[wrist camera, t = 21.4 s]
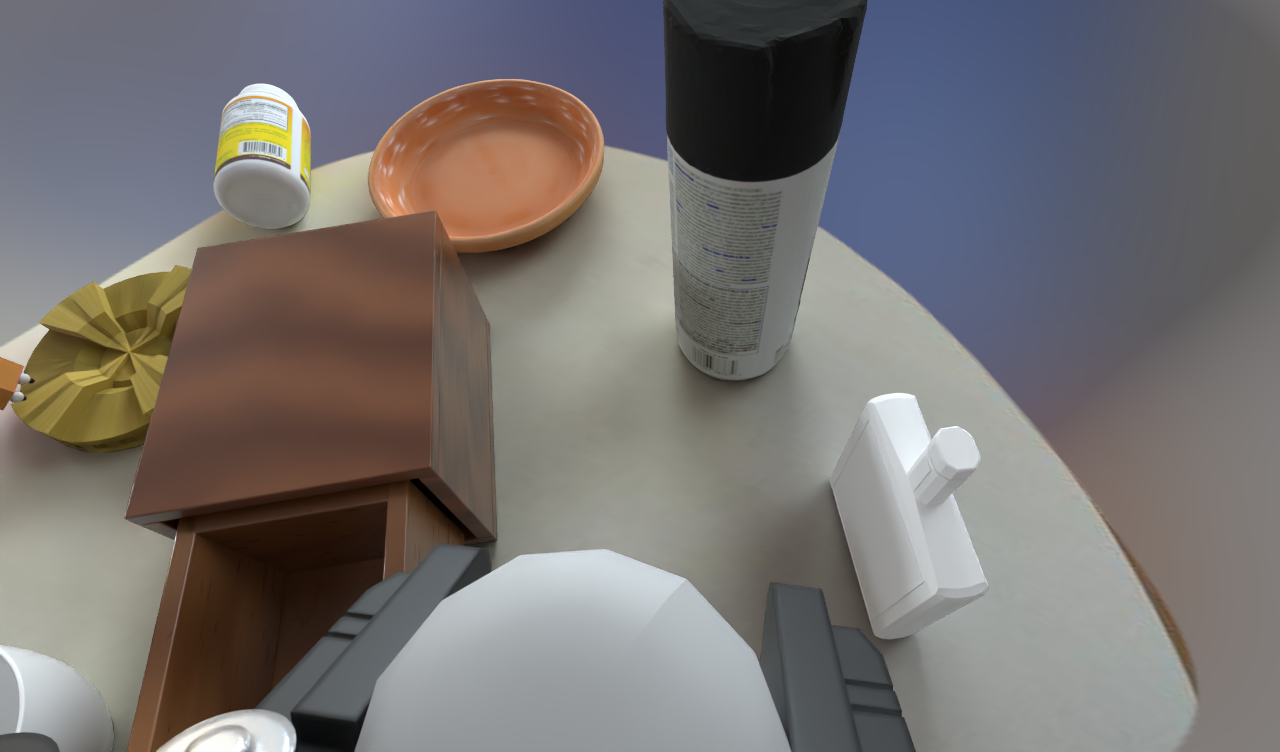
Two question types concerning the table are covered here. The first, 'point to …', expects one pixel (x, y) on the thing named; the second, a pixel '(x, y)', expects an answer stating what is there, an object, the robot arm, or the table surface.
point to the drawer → (270, 595)
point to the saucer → (490, 162)
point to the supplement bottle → (263, 159)
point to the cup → (52, 702)
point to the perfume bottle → (907, 516)
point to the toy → (11, 382)
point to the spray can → (750, 165)
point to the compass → (103, 362)
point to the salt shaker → (574, 667)
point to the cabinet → (324, 377)
